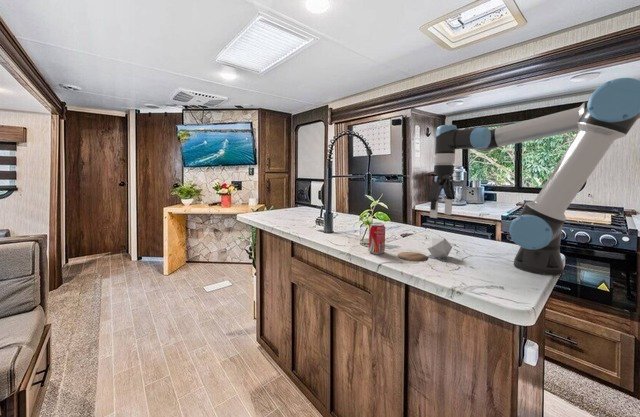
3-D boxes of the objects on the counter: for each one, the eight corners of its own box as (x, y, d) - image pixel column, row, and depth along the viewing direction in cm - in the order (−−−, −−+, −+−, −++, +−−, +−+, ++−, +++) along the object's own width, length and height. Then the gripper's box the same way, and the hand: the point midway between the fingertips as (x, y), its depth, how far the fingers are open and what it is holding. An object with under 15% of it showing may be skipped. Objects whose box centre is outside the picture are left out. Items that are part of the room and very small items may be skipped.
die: (448, 263, 119) (458, 241, 121) (428, 251, 120) (439, 230, 122) (439, 264, 127) (449, 244, 129) (421, 253, 128) (431, 233, 130)
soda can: (386, 252, 133) (387, 223, 131) (381, 255, 127) (382, 226, 125) (372, 249, 137) (373, 222, 135) (365, 253, 131) (366, 224, 129)
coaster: (432, 257, 125) (432, 256, 125) (418, 263, 117) (418, 261, 117) (406, 251, 134) (406, 250, 134) (392, 256, 126) (392, 255, 125)
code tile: (452, 257, 125) (452, 257, 125) (444, 261, 120) (444, 260, 120) (434, 253, 131) (434, 253, 131) (425, 257, 125) (425, 256, 125)
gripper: (447, 165, 132) (444, 212, 134) (420, 164, 114) (417, 218, 117) (465, 165, 126) (461, 214, 129) (439, 163, 109) (436, 220, 112)
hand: (440, 216), depth 123 cm, fingers open, 13 cm apart
